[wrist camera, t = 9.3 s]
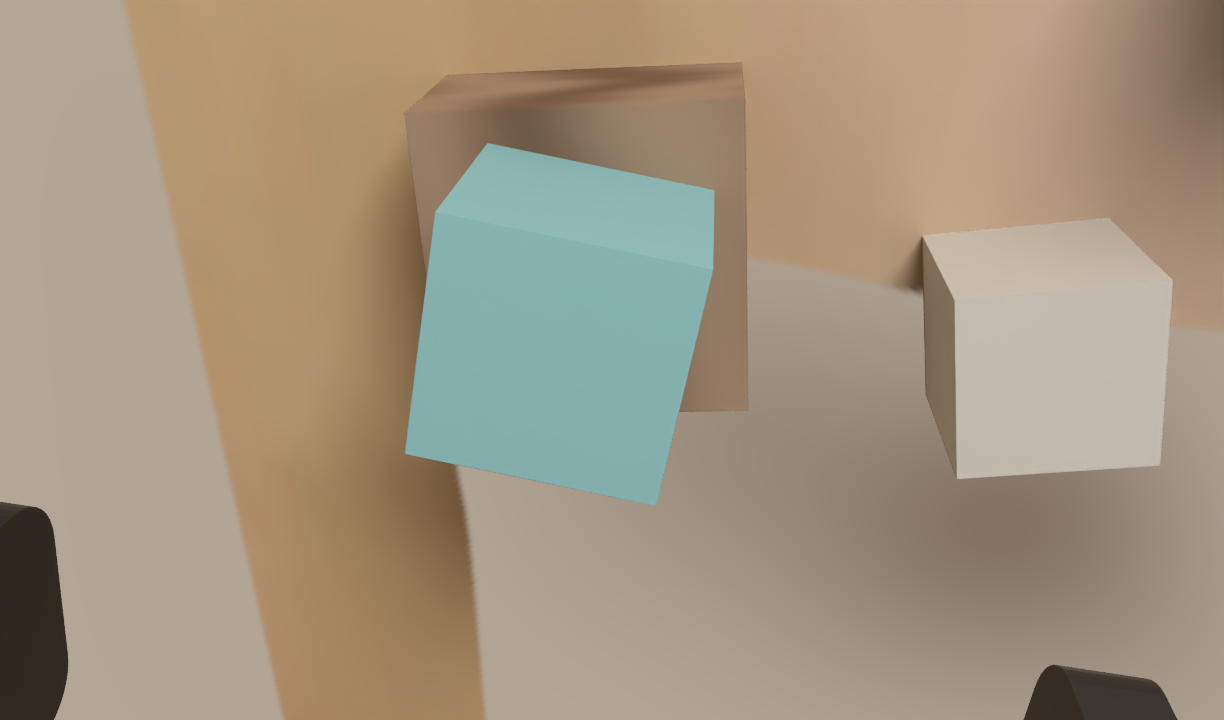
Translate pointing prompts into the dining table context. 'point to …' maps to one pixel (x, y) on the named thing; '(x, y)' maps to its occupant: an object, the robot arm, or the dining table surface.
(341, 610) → the dining table surface
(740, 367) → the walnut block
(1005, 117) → the dining table surface
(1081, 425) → the grey cube
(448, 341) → the teal cube
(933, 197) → the dining table surface
